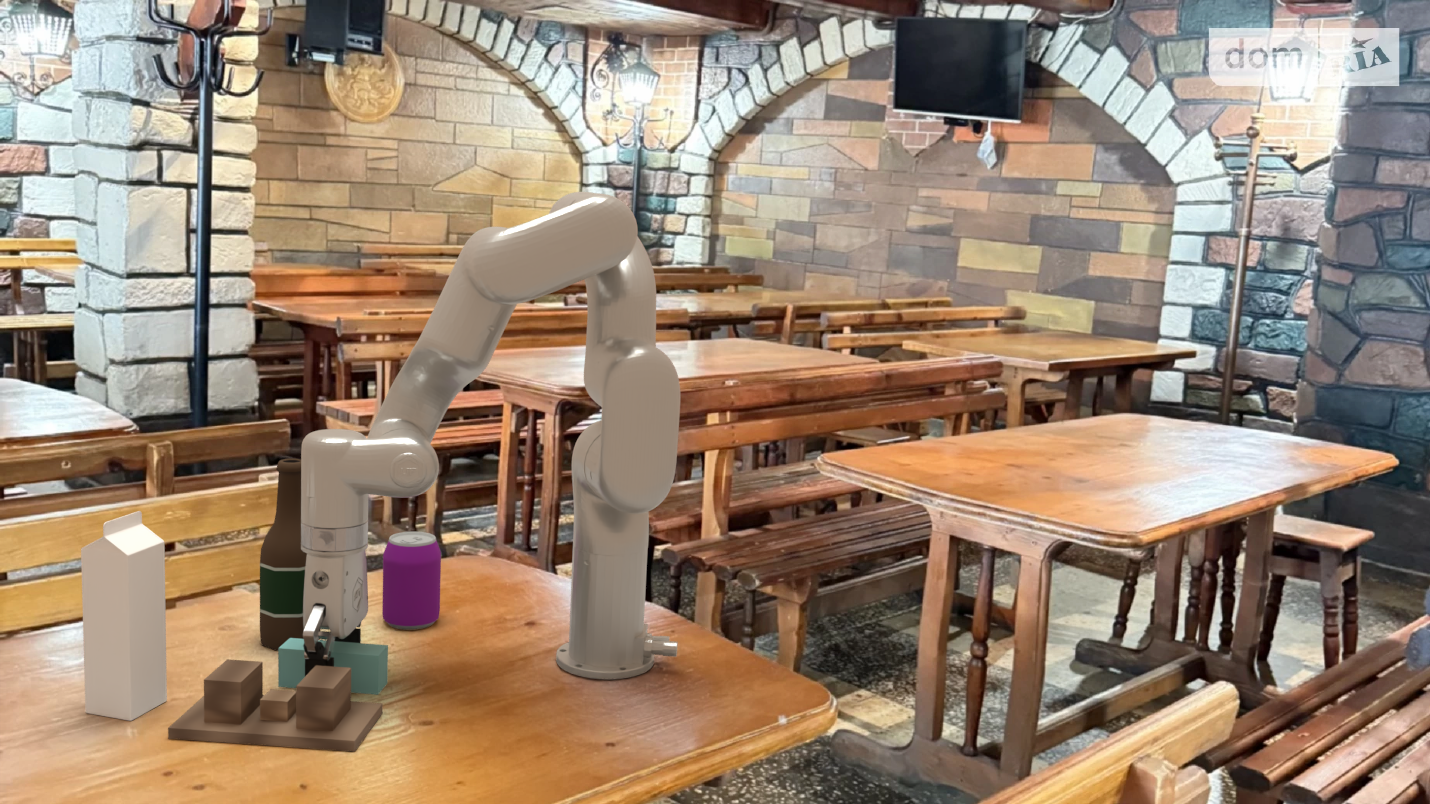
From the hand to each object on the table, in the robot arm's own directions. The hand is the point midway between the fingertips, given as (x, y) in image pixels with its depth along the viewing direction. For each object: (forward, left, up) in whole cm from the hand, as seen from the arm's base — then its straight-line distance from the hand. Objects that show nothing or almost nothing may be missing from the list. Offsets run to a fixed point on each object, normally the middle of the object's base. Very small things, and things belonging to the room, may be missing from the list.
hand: (333, 674), depth 150 cm
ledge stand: (+2, +12, -1) cm, 12 cm away
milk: (+20, +10, -2) cm, 22 cm away
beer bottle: (+10, -13, -2) cm, 16 cm away
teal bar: (0, 0, -2) cm, 2 cm away
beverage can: (-3, -23, -2) cm, 23 cm away
